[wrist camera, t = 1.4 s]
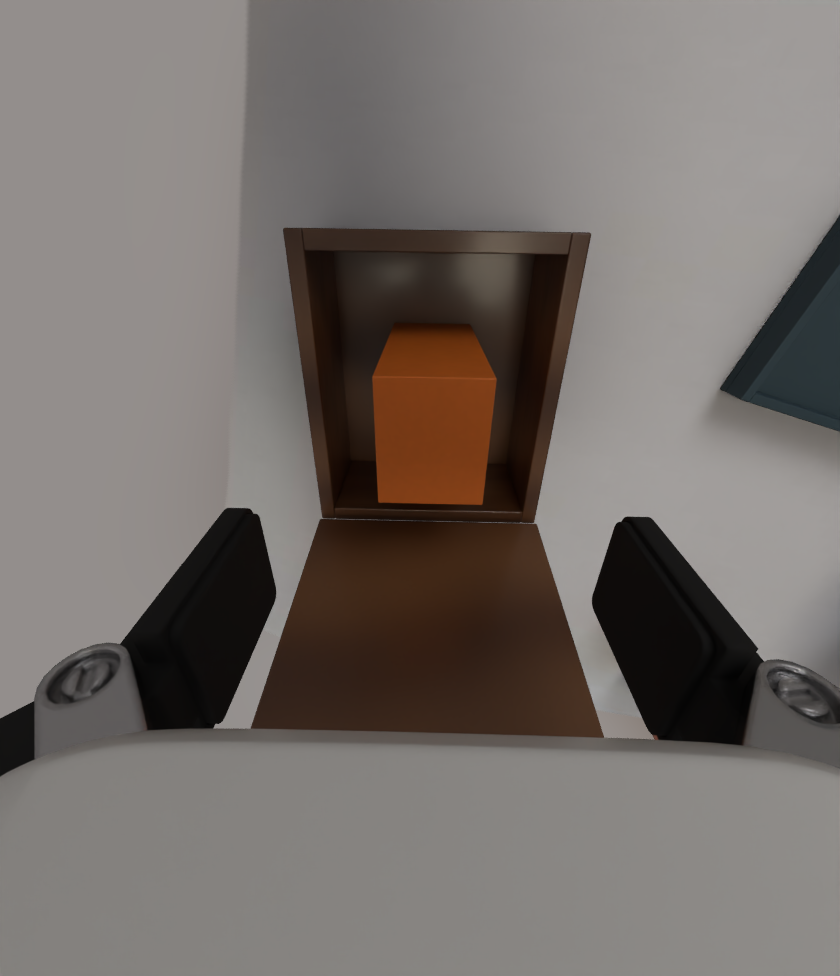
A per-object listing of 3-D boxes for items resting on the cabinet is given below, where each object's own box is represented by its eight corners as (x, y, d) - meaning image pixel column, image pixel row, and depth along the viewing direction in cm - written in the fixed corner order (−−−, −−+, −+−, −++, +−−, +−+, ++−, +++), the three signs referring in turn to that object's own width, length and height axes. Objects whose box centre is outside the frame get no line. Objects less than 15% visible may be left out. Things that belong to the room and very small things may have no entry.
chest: (320, 230, 22) (282, 227, 17) (549, 234, 22) (592, 232, 16) (342, 464, 30) (322, 518, 24) (513, 468, 30) (534, 523, 24)
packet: (394, 322, 24) (371, 375, 15) (470, 324, 24) (497, 378, 15) (395, 411, 27) (378, 503, 18) (463, 412, 27) (482, 505, 17)
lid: (198, 882, 11) (243, 914, 14) (655, 895, 11) (603, 926, 14) (319, 518, 24) (330, 577, 27) (536, 523, 24) (522, 581, 27)
